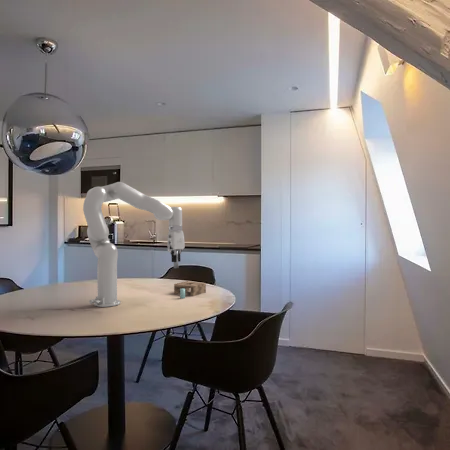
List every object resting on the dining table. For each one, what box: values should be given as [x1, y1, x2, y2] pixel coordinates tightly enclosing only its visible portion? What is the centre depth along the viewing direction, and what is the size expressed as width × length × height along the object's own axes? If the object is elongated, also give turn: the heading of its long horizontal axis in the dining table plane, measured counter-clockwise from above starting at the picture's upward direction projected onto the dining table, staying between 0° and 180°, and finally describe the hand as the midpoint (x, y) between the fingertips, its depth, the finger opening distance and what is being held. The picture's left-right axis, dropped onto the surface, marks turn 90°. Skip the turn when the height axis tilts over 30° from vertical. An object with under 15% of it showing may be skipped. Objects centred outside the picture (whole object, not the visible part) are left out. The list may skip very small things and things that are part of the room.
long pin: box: [173, 249, 179, 269], centre depth 202 cm, size 3×3×12 cm
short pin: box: [179, 289, 186, 300], centre depth 197 cm, size 3×3×5 cm
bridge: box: [173, 280, 207, 297], centre depth 211 cm, size 12×14×6 cm
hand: (176, 261), depth 202 cm, fingers closed on long pin, 2 cm apart
